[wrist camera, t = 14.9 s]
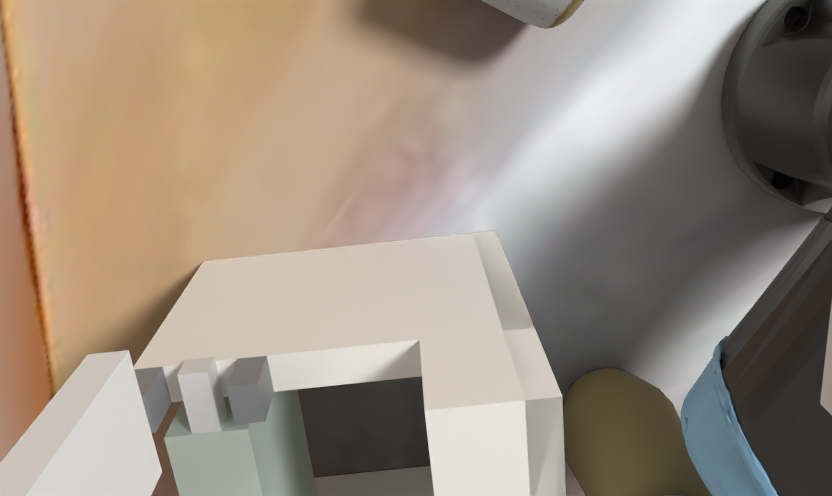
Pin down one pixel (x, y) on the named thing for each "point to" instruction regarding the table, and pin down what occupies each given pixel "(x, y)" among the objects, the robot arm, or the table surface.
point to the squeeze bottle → (626, 438)
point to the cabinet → (380, 354)
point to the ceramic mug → (538, 10)
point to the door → (235, 442)
